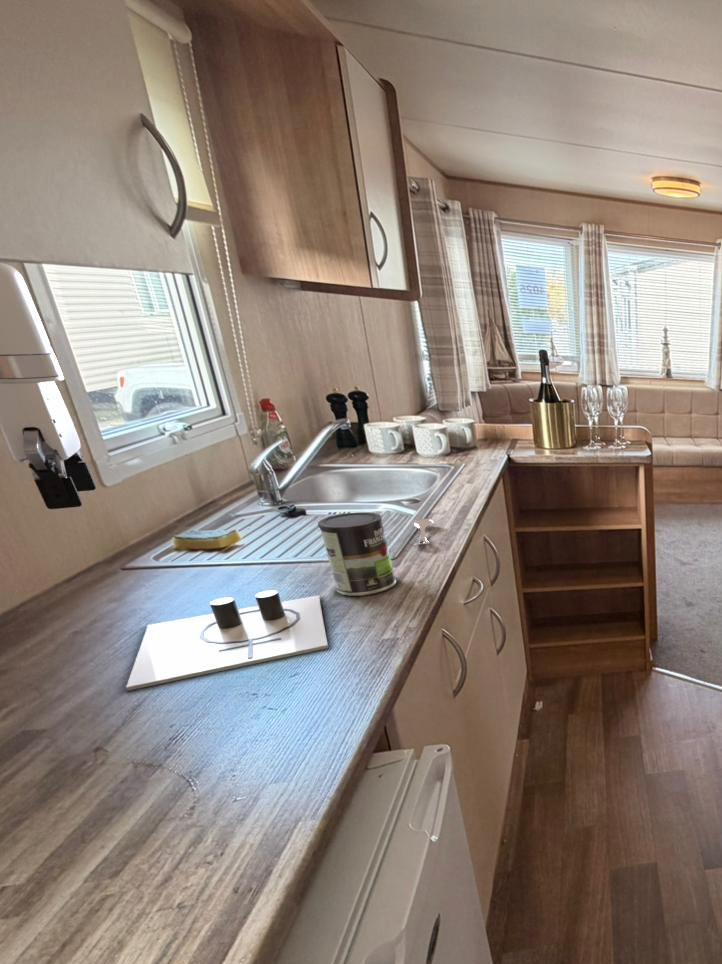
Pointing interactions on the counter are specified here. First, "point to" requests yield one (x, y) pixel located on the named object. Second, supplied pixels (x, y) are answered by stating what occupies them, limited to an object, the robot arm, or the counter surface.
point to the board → (226, 643)
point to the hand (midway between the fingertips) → (73, 498)
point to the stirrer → (422, 529)
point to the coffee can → (357, 553)
